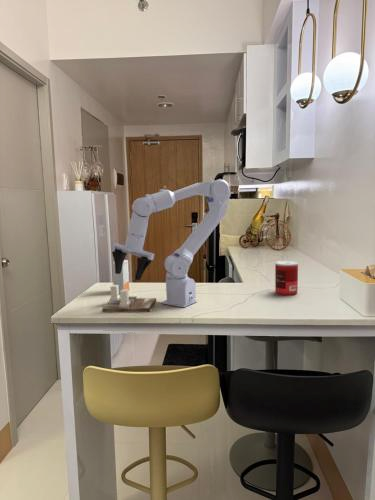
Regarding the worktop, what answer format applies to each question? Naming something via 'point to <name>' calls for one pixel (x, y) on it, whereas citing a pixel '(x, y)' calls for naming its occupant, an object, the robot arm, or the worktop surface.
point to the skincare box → (121, 276)
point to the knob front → (124, 298)
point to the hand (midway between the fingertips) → (127, 276)
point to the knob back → (114, 292)
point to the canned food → (286, 277)
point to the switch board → (134, 306)
